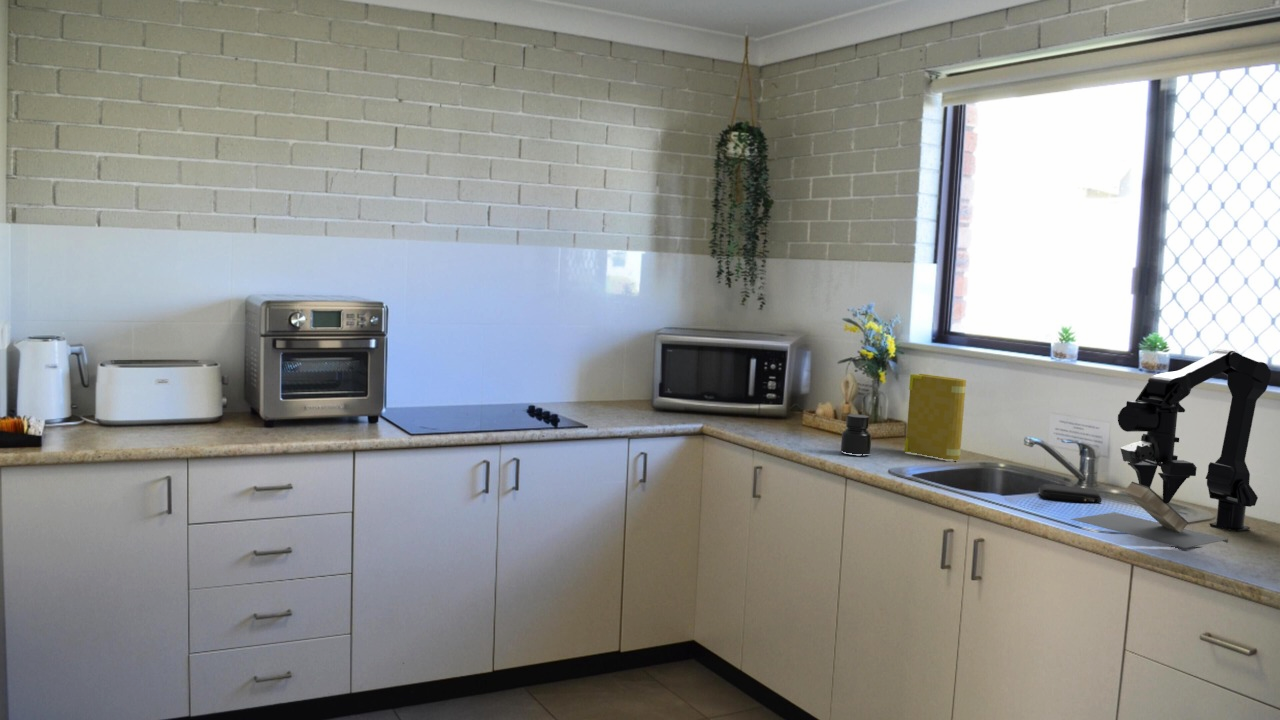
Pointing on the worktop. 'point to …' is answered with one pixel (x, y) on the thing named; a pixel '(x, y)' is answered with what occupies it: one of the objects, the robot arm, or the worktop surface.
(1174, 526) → the tan wooden block
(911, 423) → the book
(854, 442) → the ink bottle
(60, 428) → the worktop surface
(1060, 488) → the carrying case or bag
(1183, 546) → the mat
